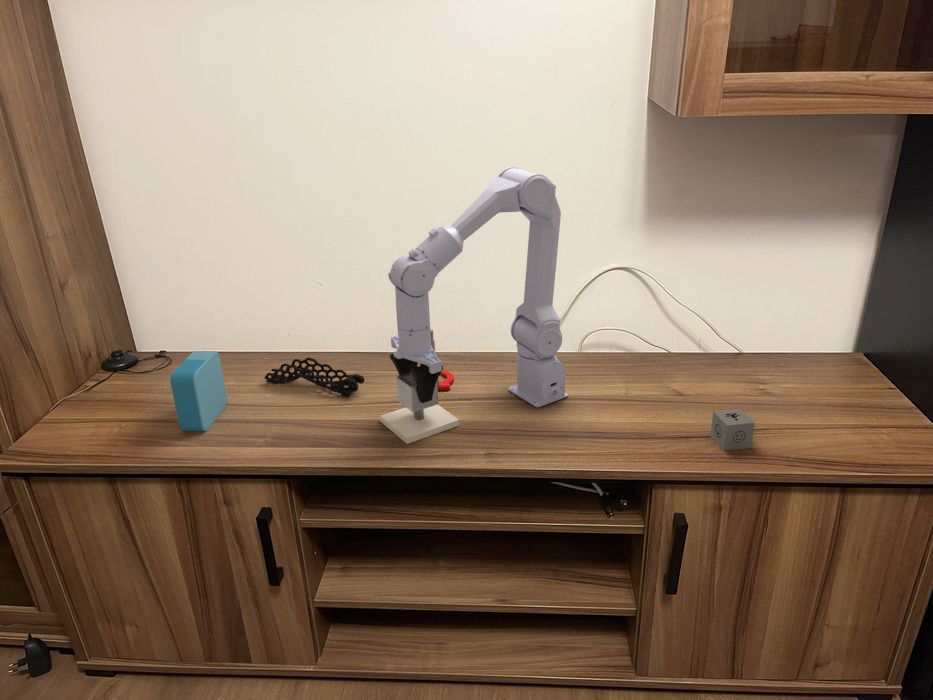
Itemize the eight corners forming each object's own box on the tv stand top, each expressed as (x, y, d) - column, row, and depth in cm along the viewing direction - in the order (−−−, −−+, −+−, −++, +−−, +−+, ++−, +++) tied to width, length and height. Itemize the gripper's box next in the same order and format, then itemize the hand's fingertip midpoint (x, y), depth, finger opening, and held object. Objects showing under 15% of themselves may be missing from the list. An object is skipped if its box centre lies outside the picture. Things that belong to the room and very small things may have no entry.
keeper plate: (459, 425, 132) (458, 395, 130) (406, 444, 126) (404, 413, 124) (430, 404, 140) (429, 376, 137) (380, 421, 134) (378, 391, 132)
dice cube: (736, 433, 127) (740, 408, 125) (751, 448, 123) (755, 422, 121) (710, 436, 127) (713, 411, 125) (723, 451, 122) (727, 425, 120)
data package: (206, 403, 143) (195, 348, 138) (228, 403, 142) (218, 348, 137) (180, 434, 132) (168, 375, 127) (204, 434, 131) (193, 375, 126)
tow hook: (414, 374, 153) (412, 392, 145) (411, 317, 149) (409, 332, 140) (453, 373, 153) (454, 391, 145) (452, 316, 149) (452, 331, 140)
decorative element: (262, 387, 149) (258, 361, 147) (276, 376, 154) (272, 351, 151) (358, 402, 142) (356, 375, 140) (370, 390, 147) (368, 364, 144)
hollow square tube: (438, 404, 131) (437, 379, 129) (412, 412, 128) (411, 387, 126) (423, 393, 135) (422, 369, 133) (398, 401, 132) (396, 376, 130)
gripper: (374, 318, 129) (379, 386, 134) (414, 344, 118) (418, 416, 123) (408, 310, 132) (412, 376, 138) (451, 334, 121) (453, 405, 127)
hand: (417, 394), depth 131 cm, fingers closed on hollow square tube, 5 cm apart
